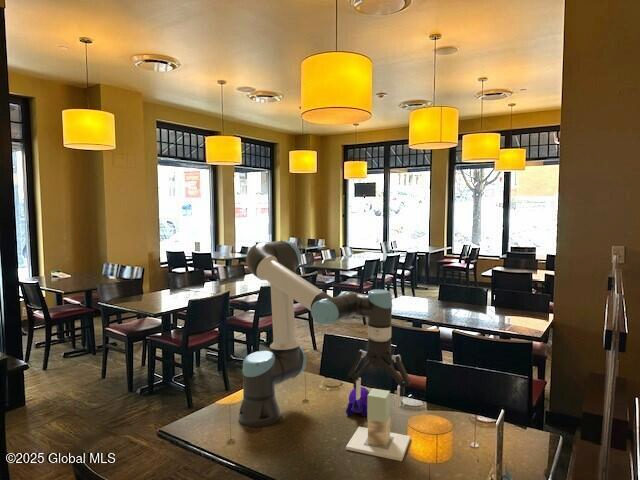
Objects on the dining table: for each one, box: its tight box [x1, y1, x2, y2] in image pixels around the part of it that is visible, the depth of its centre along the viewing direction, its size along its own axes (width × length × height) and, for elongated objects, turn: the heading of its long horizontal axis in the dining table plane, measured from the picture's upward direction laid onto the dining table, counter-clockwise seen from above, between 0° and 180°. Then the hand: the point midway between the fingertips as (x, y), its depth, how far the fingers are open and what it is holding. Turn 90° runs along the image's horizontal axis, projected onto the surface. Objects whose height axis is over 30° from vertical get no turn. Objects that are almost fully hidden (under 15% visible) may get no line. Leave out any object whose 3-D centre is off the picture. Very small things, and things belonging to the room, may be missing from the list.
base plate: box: [345, 426, 412, 462], centre depth 145 cm, size 18×14×1 cm
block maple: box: [367, 414, 391, 447], centre depth 144 cm, size 6×6×8 cm
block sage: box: [366, 387, 391, 423], centre depth 144 cm, size 6×6×8 cm
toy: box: [345, 386, 370, 418], centre depth 167 cm, size 9×10×15 cm
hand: (378, 401), depth 144 cm, fingers open, 13 cm apart
